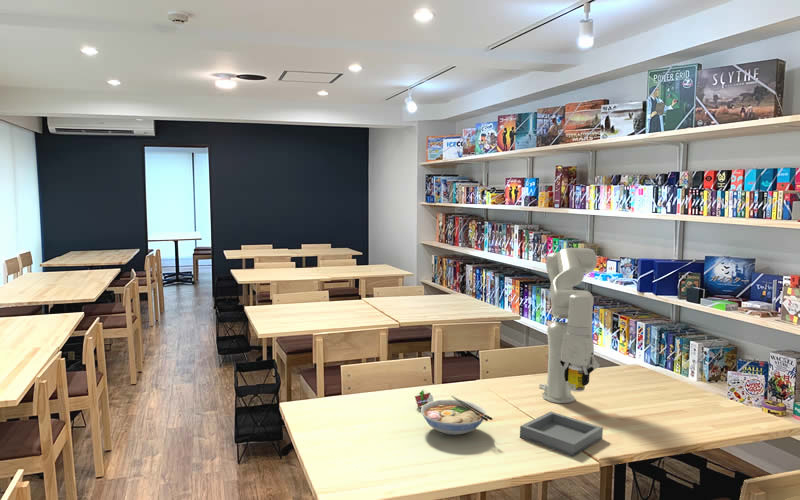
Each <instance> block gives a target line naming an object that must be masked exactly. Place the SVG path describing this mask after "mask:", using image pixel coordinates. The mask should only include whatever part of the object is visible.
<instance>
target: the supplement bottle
mask: <svg viewBox="0 0 800 500" xmlns="http://www.w3.org/2000/svg"><path fill="white" fill-rule="evenodd" d="M583 374H584V370H583V367H582V366H579V365H574V364H571V365H569V372H568V389H570V390H571V392H583V391H585V387H586V385H585V386H583V385H582V375H583Z"/></svg>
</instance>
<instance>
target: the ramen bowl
mask: <svg viewBox="0 0 800 500" xmlns="http://www.w3.org/2000/svg"><path fill="white" fill-rule="evenodd" d="M451 397H452V398H453V399H451V398H450V399H437V400H433V401H432V402H428V403H427V404H425V405H423V406H422V407H420V408H421V409H420V412H421V414H422V416H423V418H424V419H425V421H426V422H427V424H428V425H429V427H431V428H433V429H434V430H436V431H438V432H440V433H443V434H445V435H449V436H459V435H462V434H464V435H465V434H468V433H471V432H472V431H475V429H477V428H478V427H479V426H480V425H481V424H482V422H483V421H486V422H488V421H493V418H492V417H491V416H489V415H488V414H487V411H486V409H484V407H482V406H480V405H479V404H476V403H473V402H470V401H468V400H467V401H466V400H461V399H459V398H457V397H456V396H453V395H451Z"/></svg>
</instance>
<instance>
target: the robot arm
mask: <svg viewBox="0 0 800 500" xmlns="http://www.w3.org/2000/svg"><path fill="white" fill-rule="evenodd" d="M597 263H598V259H597V254H596V252H595V250H593V249H592V248H590V247H589V248H588V247H585V248H584V247H583V248H582V247H565V248H562V249H560V250H559V251H558V252H557V251H556V252H551V253H548V255H547V256H546V260H545V266H546V268H545V269H546V271H547V275H548V278H549V282H550V287H549V295H550V308H551V310H550V311H551V316H552V317H554V318H555V319H559V320H560V319H562V320H563V319H564V320H567V322H566V321H555V322H552V323H550V324H549V325H547V333H546V334H547V343H548V344H547V345H548V355H547V356H548V357H547V358H548V359H547V360H548V362H547V381H546V382H547V383H546V384H545V383H543V382H541V383H539V387H538V388H539V389H540V390H543V391H544V392H542V397H543V399H544V400H546V401H549V402H551V403H557V404H570V403H573V402H575V399H576V397H575V395H574V394H572V390H570V389H568V372H569V365H571V364H574V365H579V366H582V367H583V370H584V374H583V375H582V385H583V386H585V387H586V386H587V385H588V384H589V383H590V374H591V373H592V372H594V371H595V370H596V369H598V368H599V367H600V363H599V362H598V361H597V359H596V358H595V347H594V340H593V307H594V302H595V301H594V296H593V295H592V293H591V292H590V291H589V290H583V289H582V290H577V289H573V288H574V287H576V286H578V285H580V284H581V283H582V282H583V280H584V277H585V275H587V274H590V273H591V272H593V271H594V270H595V269H596V267H597ZM591 365H592V366H591Z"/></svg>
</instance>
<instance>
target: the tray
mask: <svg viewBox="0 0 800 500" xmlns="http://www.w3.org/2000/svg"><path fill="white" fill-rule="evenodd" d="M603 430H604V428H603V427H602V426H598V425H596V424H592V423H589V422H586V421H583V420H580V419H577V418H573V417H569V416H566V415H564V414H561V413H556V412H554V411H549V412H547V413H545V414H543V415H541V416H539V417H536V418H534V419H532V420H530V421H528V422H526V423H524V424H522V425H520V428H519V438H521V439H523V440H525V441H526V440H527V441H529V442H532V443H534V444H537V445H540V446H543V447H545V448H549V449H552V450H554V451H557V452H560V453H562V454H565V455H568V456H570V457H575V456H577V455H579V454H580V453H582V452H583V451H585V450H587V449H588V448H589V447H592V446H593V445H595V444H596V443H598V442H600V441H602V440H603V435H604V434H603V432H604V431H603Z"/></svg>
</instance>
